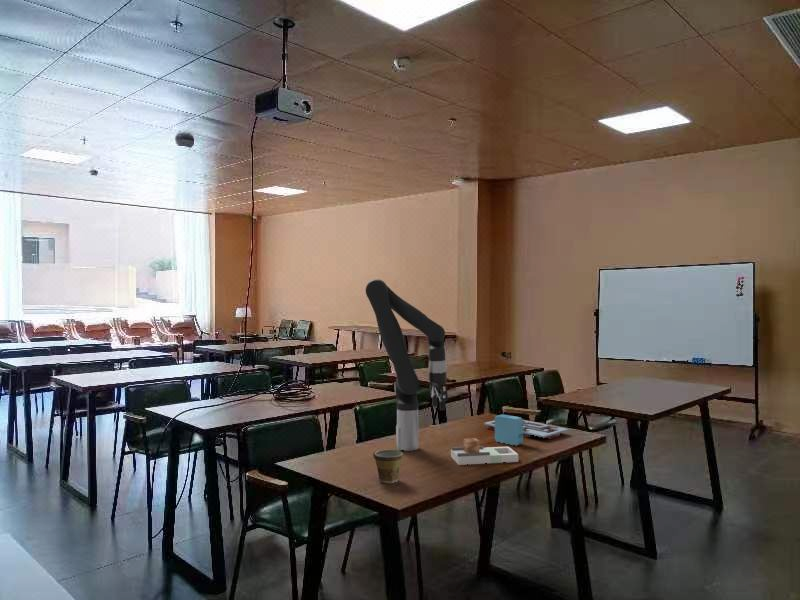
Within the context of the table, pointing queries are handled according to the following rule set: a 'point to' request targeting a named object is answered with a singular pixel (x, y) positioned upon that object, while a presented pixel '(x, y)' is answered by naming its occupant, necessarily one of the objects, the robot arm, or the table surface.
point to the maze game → (535, 429)
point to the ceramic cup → (388, 465)
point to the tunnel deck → (484, 455)
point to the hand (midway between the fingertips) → (438, 408)
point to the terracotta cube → (471, 445)
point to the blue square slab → (509, 429)
